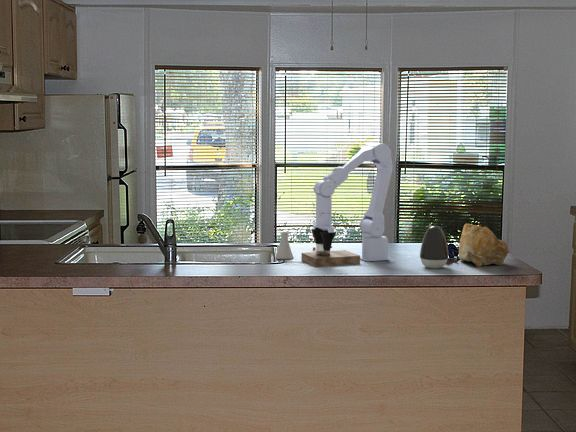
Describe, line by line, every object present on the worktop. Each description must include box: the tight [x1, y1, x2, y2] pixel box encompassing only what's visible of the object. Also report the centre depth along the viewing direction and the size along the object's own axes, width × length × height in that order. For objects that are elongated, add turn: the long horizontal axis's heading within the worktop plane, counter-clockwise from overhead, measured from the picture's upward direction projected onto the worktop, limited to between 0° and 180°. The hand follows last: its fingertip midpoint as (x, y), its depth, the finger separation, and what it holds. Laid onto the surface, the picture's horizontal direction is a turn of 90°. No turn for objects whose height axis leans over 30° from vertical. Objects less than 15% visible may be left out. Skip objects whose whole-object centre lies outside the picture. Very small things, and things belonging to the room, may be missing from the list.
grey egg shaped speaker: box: [419, 225, 449, 270], centre depth 333 cm, size 10×10×15 cm
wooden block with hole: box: [300, 249, 361, 268], centre depth 342 cm, size 18×13×3 cm
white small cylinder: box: [315, 243, 331, 256], centre depth 341 cm, size 5×5×7 cm
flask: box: [274, 231, 294, 260], centre depth 350 cm, size 7×7×10 cm
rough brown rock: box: [458, 223, 510, 267], centre depth 341 cm, size 23×17×15 cm
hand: (323, 249), depth 341 cm, fingers open, 6 cm apart
